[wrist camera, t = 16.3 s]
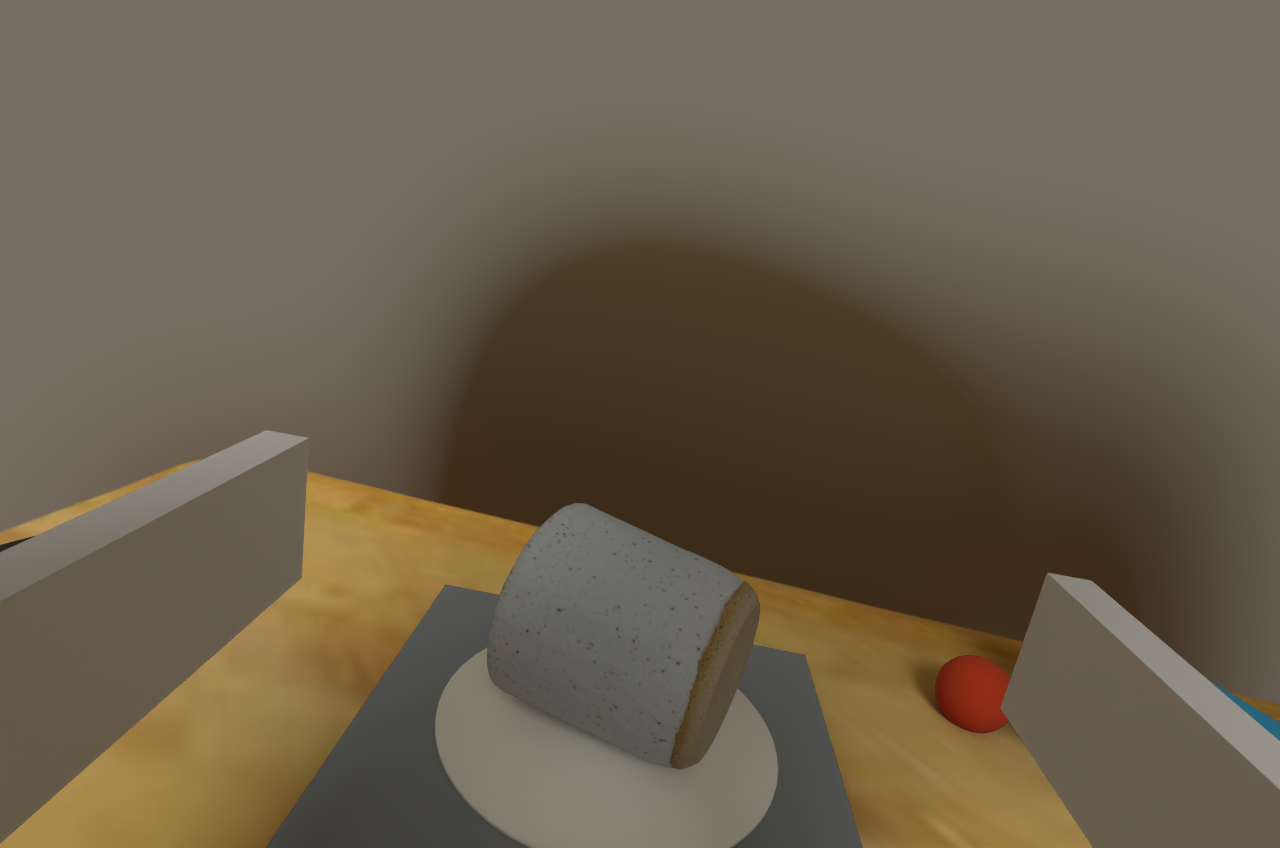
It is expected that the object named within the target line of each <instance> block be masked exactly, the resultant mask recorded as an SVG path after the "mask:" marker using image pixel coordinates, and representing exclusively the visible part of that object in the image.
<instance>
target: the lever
mask: <svg viewBox="0 0 1280 848" xmlns="http://www.w3.org/2000/svg"><path fill="white" fill-rule="evenodd" d="M1009 682H1010V678H1009V677H1008V675H1007V674H1006V672H1005V671H1004V670H1003V669H1002V668H1001V667H1000V666H998V665H997V664H995V663H994V662H992V661H991V660H988V659H985V658H983V657H980V656H972V655H964V656H959V657H956V658H953V659H951V660H950V661H949V662H947V663H946V664H945V665H944V666H943V667H942V669H941V670H940V672H939V675H938V678H937V681H936V684H935V690H936V697H937V701H938V703H939V706H940V709H941V710H942V711H943V713H944V714H945V716H946V717H947V718H948V719H949V720H950V721H951V722H953V723H954V724H956V725H957V726H959V727H961V728H963V729H966V730H968V731H971V732H976V733H987V732H993V731H995V730H998V729H1000V728H1001V727H1003V726H1004V725H1005V724H1006V723H1007V722H1008V719H1007V717H1006V716H1005V714H1004V713H1003V711H1002V710H1001V705H1002V702H1003V699H1004V696H1005V693H1006V690H1007V688H1008V685H1009ZM1212 684H1213V683H1212ZM1213 685H1214V686H1216V687H1217V688H1218V689H1219V690H1220V691H1221V692H1223V693H1224V694H1225V695H1226V696H1227V697H1229V698H1230V699H1231V700H1232V701H1233V702H1234V703H1236V704H1237V705H1238V706H1239V707H1240V708H1241V709H1243V710H1244V711H1245V712H1246V713H1247V714H1248V715H1250V716H1251V717H1252V718H1253V719H1254V720H1256V721H1257V722H1258V723H1259V724H1260V725H1261V726H1263V727H1264V728H1265V729H1266V730H1267V731H1268V732H1270V733H1271V734H1272V735H1273V736H1274V737H1276V738H1277V739H1278V740H1279V741H1280V722H1278V721H1276V720H1274V719H1273V718H1271V717H1269V716H1268V715H1266V714H1264V713H1263V712H1261V711H1259V710H1257V709H1256V708H1254V707H1252V706H1251V705H1249V704H1247V703H1246V702H1244V701H1242V700H1241V699H1239V698H1237V697H1235V696H1234V695H1232V694H1230V693H1229V692H1227V691H1225V690H1224V689H1222V688H1220V687H1218V686H1217V685H1215V684H1213Z"/></svg>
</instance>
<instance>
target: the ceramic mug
mask: <svg viewBox="0 0 1280 848" xmlns="http://www.w3.org/2000/svg"><path fill="white" fill-rule="evenodd" d="M759 614H760V603H759V600H758V597H757V594H756V592H755V591H754V590H753V588H752V587H751V586H750V585H749V584H748V583H746V582H745V581H743V580H742V579H741V578H739V577H738V576H736V575H735V574H733V573H732V572H730V571H729V570H727V569H726V568H724V567H722V566H720V565H718V564H716V563H714V562H712V561H710V560H708V559H706V558H703V557H701V556H699V555H696V554H694V553H691V552H689V551H686V550H684V549H681V548H679V547H677V546H675V545H673V544H671V543H668V542H666V541H664V540H662V539H660V538H658V537H656V536H654V535H652V534H649V533H647V532H645V531H643V530H641V529H639V528H637V527H634V526H632V525H630V524H628V523H626V522H623V521H621V520H619V519H617V518H615V517H613V516H610V515H608V514H606V513H604V512H602V511H600V510H598V509H596V508H594V507H591V506H589V505H586V504H580V503H575V504H572V505H569V506H566V507H564V508H562V509H560V510H559V511H558V512H556V513H555V514H554V515H552V516H551V517H550V518H549V519H548V520H547V521H546V522H545V523H544V524H543V525H542V526H541V527H540V528H539V529H538V530H537V531H536V532H535V533H534V535H533V536H532V537H531V538H530V539H529V541H528V542H527V544H526V545H525V547H524V548H523V550H522V551H521V553H520V555H519V557H518V559H517V561H516V563H515V565H514V566H513V568H512V570H511V571H510V573H509V575H508V577H507V579H506V581H505V583H504V586H503V588H502V591H501V594H500V597H499V600H498V603H497V606H496V609H495V612H494V617H493V620H492V624H491V628H490V631H489V636H488V646H487V668H488V672H489V676H490V679H491V681H492V682H493V683H494V685H495V686H497V687H498V688H499V689H501V690H502V691H504V692H505V693H507V694H509V695H512V696H514V697H516V698H518V699H520V700H522V701H524V702H527V703H529V704H531V705H533V706H535V707H537V708H539V709H541V710H543V711H545V712H547V713H549V714H551V715H553V716H555V717H557V718H559V719H561V720H563V721H565V722H567V723H569V724H571V725H573V726H575V727H578V728H580V729H582V730H584V731H586V732H588V733H590V734H592V735H594V736H596V737H598V738H600V739H602V740H604V741H606V742H608V743H610V744H612V745H614V746H616V747H618V748H620V749H622V750H624V751H626V752H628V753H630V754H632V755H634V756H636V757H638V758H641V759H643V760H646V761H648V762H651V763H655V764H658V765H661V766H665V767H668V768H674V769H679V770H682V769H685V768H688V767H691V766H693V765H695V764H697V763H699V762H700V761H701V759H702V758H703V757H704V756H705V754H706V753H707V751H708V750H709V748H710V746H711V745H712V743H713V741H714V739H715V737H716V735H717V733H718V731H719V729H720V727H721V725H722V723H723V721H724V719H725V716H726V714H727V712H728V710H729V707H730V705H731V703H732V700H733V698H734V696H735V693H736V691H737V688H738V685H739V683H740V680H741V677H742V674H743V672H744V669H745V666H746V663H747V661H748V658H749V655H750V652H751V649H752V645H753V641H754V637H755V634H756V629H757V625H758V621H759Z"/></svg>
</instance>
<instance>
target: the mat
mask: <svg viewBox="0 0 1280 848" xmlns="http://www.w3.org/2000/svg"><path fill="white" fill-rule="evenodd" d="M499 597H500V595H497V594H491V593H486V592H481V591H476V590H471V589H466V588H461V587H456V586H451V585H445V586H444V588H443V589H442V591H441V592H440V594H439V595H438V596H437V598H436V599H435V601H434V602H433V604H432V605H431V607H430V608H429V610H428V611H427V613H426V614H425V616H424V617H423V618H422V620H421V621H420V623H419V624H418V626H417V627H416V629H415V630H414V632H413V633H412V635H411V636H410V638H409V639H408V640H407V642H406V643H405V645H404V646H403V648H402V649H401V651H400V652H399V654H398V655H397V657H396V658H395V659H394V661H393V662H392V664H391V665H390V667H389V668H388V670H387V671H386V673H385V674H384V676H383V677H382V679H381V680H380V681H379V683H378V684H377V686H376V687H375V689H374V690H373V692H372V693H371V695H370V696H369V698H368V699H367V701H366V702H365V703H364V705H363V706H362V708H361V709H360V711H359V712H358V714H357V715H356V717H355V718H354V720H353V721H352V723H351V724H350V725H349V727H348V728H347V730H346V731H345V733H344V734H343V736H342V737H341V739H340V740H339V742H338V743H337V745H336V746H335V747H334V749H333V750H332V752H331V753H330V755H329V756H328V758H327V759H326V761H325V762H324V764H323V765H322V767H321V768H320V769H319V771H318V772H317V774H316V775H315V777H314V778H313V780H312V781H311V783H310V784H309V786H308V787H307V788H306V790H305V791H304V793H303V794H302V796H301V797H300V799H299V800H298V802H297V803H296V805H295V806H294V808H293V809H292V810H291V812H290V813H289V815H288V816H287V818H286V819H285V821H284V822H283V824H282V825H281V827H280V828H279V830H278V831H277V832H276V834H275V835H274V837H273V838H272V840H271V841H270V843H269V844H268V846H267V847H266V848H862V844H861V841H860V838H859V834H858V831H857V828H856V824H855V821H854V817H853V814H852V811H851V807H850V804H849V801H848V797H847V794H846V791H845V787H844V784H843V781H842V777H841V774H840V771H839V767H838V764H837V761H836V757H835V754H834V751H833V747H832V744H831V741H830V737H829V734H828V730H827V727H826V724H825V720H824V717H823V714H822V710H821V707H820V704H819V700H818V697H817V694H816V690H815V687H814V684H813V680H812V677H811V674H810V670H809V667H808V664H807V660H806V657H805V655H803V654H798V653H793V652H788V651H782V650H777V649H772V648H767V647H762V646H757V645H752V649H751V652H750V655H749V658H748V661H747V663H746V666H745V669H744V672H743V674H742V677H741V680H740V683H739V685H738V688H737V691H736V693H735V696H734V698H733V700H732V703H731V705H730V707H729V710H728V712H727V714H726V716H725V719H724V721H723V723H722V725H721V727H720V729H719V731H718V733H717V735H716V737H715V739H714V741H713V743H712V745H711V746H710V748H709V750H708V751H707V753H706V754H705V756H704V757H703V758H702V759H701V761H700V762H699V763H697V764H695V765H693V766H691V767H688V768H685V769H682V770H679V769H674V768H668V767H665V766H661V765H658V764H655V763H651V762H648V761H646V760H643V759H641V758H638V757H636V756H634V755H632V754H630V753H628V752H626V751H624V750H622V749H620V748H618V747H616V746H614V745H612V744H610V743H608V742H606V741H604V740H602V739H600V738H598V737H596V736H594V735H592V734H590V733H588V732H586V731H584V730H582V729H580V728H578V727H575V726H573V725H571V724H569V723H567V722H565V721H563V720H561V719H559V718H557V717H555V716H553V715H551V714H549V713H547V712H545V711H543V710H541V709H539V708H537V707H535V706H533V705H531V704H529V703H527V702H524V701H522V700H520V699H518V698H516V697H514V696H512V695H509V694H507V693H505V692H504V691H502V690H501V689H499V688H498V687H497V686H495V685H494V683H493V682H492V681H491V679H490V676H489V672H488V668H487V646H488V636H489V631H490V628H491V624H492V620H493V617H494V612H495V609H496V606H497V603H498V600H499Z"/></svg>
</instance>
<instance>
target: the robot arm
mask: <svg viewBox="0 0 1280 848" xmlns="http://www.w3.org/2000/svg"><path fill="white" fill-rule="evenodd" d="M308 443H309V438H306V437H300V436H295V435H289V434H284V433H278V432H273V431H267V430H266V431H264V432H262V433H260V434H258V435H255V436H253V437H251V438H249V439H247V440H244V441H242V442H240V443H238V444H236V445H234V446H231V447H229V448H227V449H225V450H223V451H220V452H218V453H216V454H214V455H212V456H210V457H207V458H205V459H203V460H201V461H199V462H196V463H194V464H192V465H190V466H188V467H185V468H183V469H181V470H179V471H177V472H175V473H172V474H170V475H168V476H166V477H164V478H161V479H159V480H157V481H155V482H153V483H150V484H148V485H146V486H144V487H142V488H140V489H137V490H135V491H133V492H131V493H129V494H126V495H124V496H122V497H120V498H118V499H116V500H113V501H111V502H109V503H107V504H105V505H102V506H100V507H98V508H96V509H94V510H91V511H89V512H87V513H85V514H83V515H81V516H78V517H76V518H74V519H72V520H70V521H67V522H65V523H63V524H61V525H59V526H57V527H54V528H52V529H50V530H48V531H46V532H43V533H41V534H39V535H37V536H33V537H29V538H26V539H22V540H18V541H14V542H10V543H6V544H2V545H0V843H1V842H2V841H4V840H5V839H6V838H7V837H8V836H9V835H10V834H12V833H13V832H14V831H15V830H16V829H17V828H18V827H19V826H21V825H22V824H23V823H24V822H25V821H26V820H27V819H29V818H30V817H31V816H32V815H33V814H34V813H35V812H36V811H38V810H39V809H40V808H41V807H42V806H43V805H44V804H46V803H47V802H48V801H49V800H50V799H51V798H52V797H54V796H55V795H56V794H57V793H58V792H59V791H60V790H61V789H63V788H64V787H65V786H66V785H67V784H68V783H69V782H71V781H72V780H73V779H74V778H75V777H76V776H77V775H78V774H80V773H81V772H82V771H83V770H84V769H85V768H86V767H88V766H89V765H90V764H91V763H92V762H93V761H94V760H96V759H97V758H98V757H99V756H100V755H101V754H102V753H103V752H105V751H106V750H107V749H108V748H109V747H110V746H111V745H113V744H114V743H115V742H116V741H117V740H118V739H119V738H120V737H122V736H123V735H124V734H125V733H126V732H127V731H128V730H130V729H131V728H132V727H133V726H134V725H135V724H136V723H138V722H139V721H140V720H141V719H142V718H143V717H144V716H145V715H147V714H148V713H149V712H150V711H151V710H152V709H153V708H155V707H156V706H157V705H158V704H159V703H160V702H161V701H162V700H164V699H165V698H166V697H167V696H168V695H169V694H170V693H172V692H173V691H174V690H175V689H176V688H177V687H178V686H179V685H181V684H182V683H183V682H184V681H185V680H186V679H187V678H189V677H190V676H191V675H192V674H193V673H194V672H195V671H197V670H198V669H199V668H200V667H201V666H202V665H203V664H204V663H206V662H207V661H208V660H209V659H210V658H211V657H212V656H214V655H215V654H216V653H217V652H218V651H219V650H220V649H221V648H223V647H224V646H225V645H226V644H227V643H228V642H229V641H231V640H232V639H233V638H234V637H235V636H236V635H237V634H239V633H240V632H241V631H242V630H243V629H244V628H245V627H246V626H248V625H249V624H250V623H251V622H252V621H253V620H254V619H256V618H257V617H258V616H259V615H260V614H261V613H262V612H263V611H265V610H266V609H267V608H268V607H269V606H270V605H271V604H273V603H274V602H275V601H276V600H277V599H278V598H279V597H281V596H282V595H283V594H284V593H285V592H286V591H287V590H288V589H290V588H291V587H292V586H293V585H294V584H295V583H296V582H298V581H299V580H300V579H301V578H302V561H303V541H304V522H305V502H306V483H307V462H308ZM1001 710H1002V711H1003V713H1004V714H1005V716H1006V717H1007V719H1008V720H1009V722H1010V723H1011V725H1012V726H1013V728H1014V729H1015V731H1016V732H1017V734H1018V735H1019V737H1020V738H1021V740H1022V741H1023V743H1024V744H1025V746H1026V747H1027V749H1028V750H1029V752H1030V753H1031V755H1032V756H1033V758H1034V760H1035V761H1036V763H1037V764H1038V766H1039V767H1040V769H1041V770H1042V772H1043V773H1044V775H1045V776H1046V778H1047V779H1048V781H1049V782H1050V784H1051V785H1052V787H1053V788H1054V790H1055V791H1056V793H1057V794H1058V796H1059V797H1060V799H1061V800H1062V802H1063V803H1064V805H1065V806H1066V808H1067V809H1068V811H1069V812H1070V814H1071V815H1072V817H1073V818H1074V820H1075V821H1076V823H1077V824H1078V826H1079V827H1080V829H1081V830H1082V832H1083V833H1084V835H1085V836H1086V838H1087V839H1088V841H1089V842H1090V844H1091V845H1092V847H1093V848H1280V741H1279V740H1278V739H1277V738H1276V737H1274V736H1273V735H1272V734H1271V733H1270V732H1268V731H1267V730H1266V729H1265V728H1264V727H1263V726H1261V725H1260V724H1259V723H1258V722H1257V721H1256V720H1254V719H1253V718H1252V717H1251V716H1250V715H1248V714H1247V713H1246V712H1245V711H1244V710H1243V709H1241V708H1240V707H1239V706H1238V705H1237V704H1236V703H1234V702H1233V701H1232V700H1231V699H1230V698H1229V697H1227V696H1226V695H1225V694H1224V693H1223V692H1221V691H1220V690H1219V689H1218V688H1217V687H1216V686H1214V685H1213V684H1212V683H1211V682H1210V681H1209V680H1207V679H1206V678H1205V677H1204V676H1203V675H1201V674H1200V673H1199V672H1198V671H1197V670H1196V669H1194V668H1193V667H1192V666H1191V665H1190V664H1188V663H1187V662H1186V661H1185V660H1184V659H1183V658H1182V657H1180V656H1179V655H1178V654H1177V653H1176V652H1174V651H1173V650H1172V649H1171V648H1170V647H1169V646H1167V645H1166V644H1165V643H1164V642H1163V641H1161V640H1160V639H1159V638H1158V637H1157V636H1156V635H1155V634H1153V633H1152V632H1151V631H1150V630H1149V629H1147V628H1146V627H1145V626H1144V625H1143V624H1142V623H1140V622H1139V621H1138V620H1137V619H1136V618H1135V617H1133V616H1132V615H1131V614H1130V613H1129V612H1127V611H1126V610H1125V609H1124V608H1123V607H1122V606H1120V605H1119V604H1118V603H1117V602H1116V601H1115V600H1113V599H1112V598H1111V597H1110V596H1109V595H1108V594H1106V593H1105V592H1104V591H1103V590H1102V589H1100V588H1099V587H1098V586H1097V585H1096V584H1094V583H1093V582H1092V581H1090V580H1084V579H1079V578H1073V577H1068V576H1063V575H1057V574H1052V573H1047V575H1046V578H1045V581H1044V584H1043V587H1042V590H1041V593H1040V595H1039V598H1038V601H1037V604H1036V607H1035V610H1034V613H1033V616H1032V619H1031V622H1030V624H1029V627H1028V630H1027V633H1026V636H1025V639H1024V641H1023V644H1022V647H1021V650H1020V653H1019V656H1018V659H1017V662H1016V664H1015V667H1014V670H1013V673H1012V676H1011V679H1010V682H1009V685H1008V688H1007V690H1006V693H1005V696H1004V699H1003V702H1002V705H1001Z"/></svg>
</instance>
